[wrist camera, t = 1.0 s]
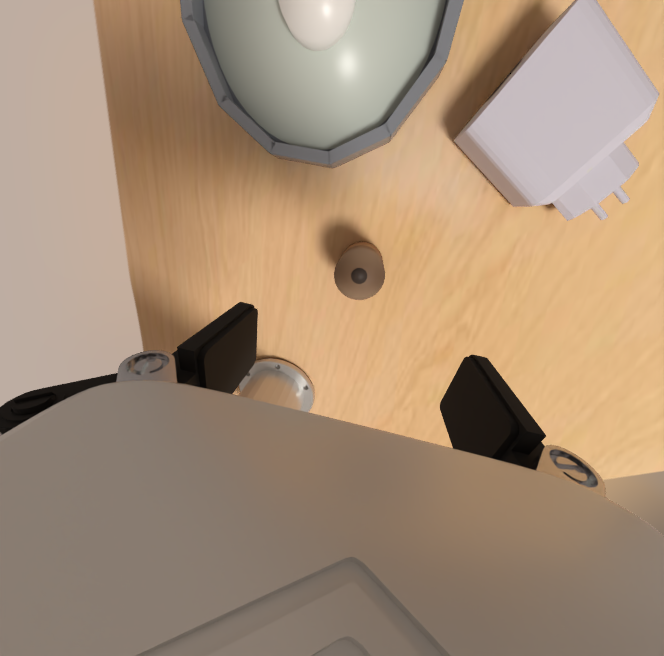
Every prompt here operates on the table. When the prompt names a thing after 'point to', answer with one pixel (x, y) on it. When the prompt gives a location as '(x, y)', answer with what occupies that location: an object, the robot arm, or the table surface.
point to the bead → (360, 271)
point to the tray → (321, 68)
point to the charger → (564, 117)
